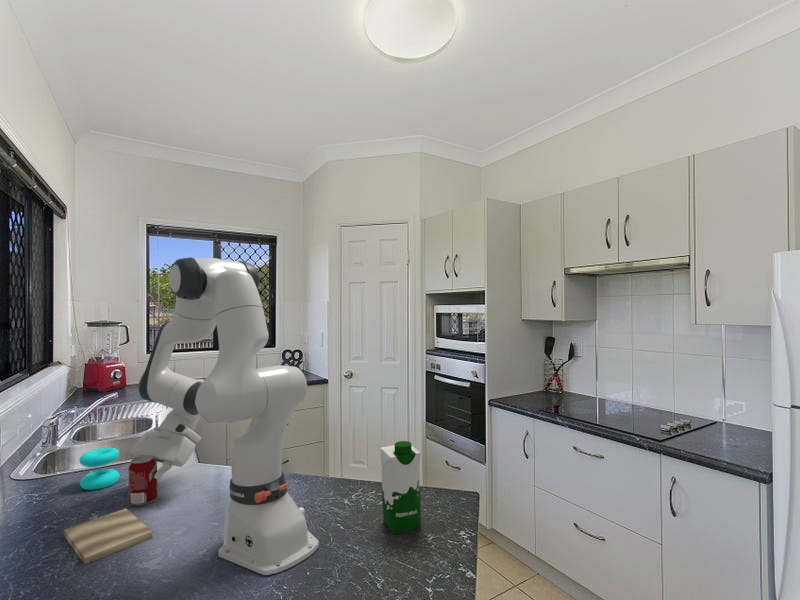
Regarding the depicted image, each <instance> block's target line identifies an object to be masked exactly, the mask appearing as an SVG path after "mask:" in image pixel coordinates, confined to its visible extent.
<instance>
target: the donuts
mask: <svg viewBox="0 0 800 600" xmlns="http://www.w3.org/2000/svg"><path fill="white" fill-rule="evenodd" d="M119 456H120V450H119V449H117V448H116V447H102V448H101V447H100V448H97V449H92V450H89V451H87V452H85V453H82V455H81V456H80V457H79V464H80V465H82V466H83V467H86V468H96V467H98V468H99V467H102V466H106V465H109V464H111V463H113V462H115V461H116V460H117V459H118V457H119ZM120 477H121V475H120V472H119V471H118V470H116V469H113V468H104V469H98V470H95V471H91V472H90V473H88V474H86V475H84V476H83V477H82V478H81V480H80V482H79V487H80V488H81V489H83V490H86V491H95V489H96V490H100V489H104V488H107V487H110V486H113V485H114V484H117V482H118V481H119V480H120Z"/></svg>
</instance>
